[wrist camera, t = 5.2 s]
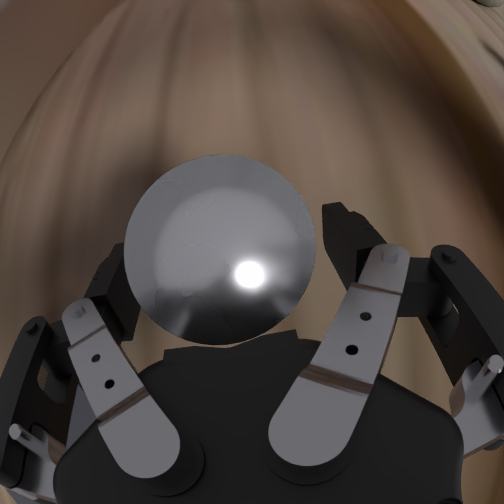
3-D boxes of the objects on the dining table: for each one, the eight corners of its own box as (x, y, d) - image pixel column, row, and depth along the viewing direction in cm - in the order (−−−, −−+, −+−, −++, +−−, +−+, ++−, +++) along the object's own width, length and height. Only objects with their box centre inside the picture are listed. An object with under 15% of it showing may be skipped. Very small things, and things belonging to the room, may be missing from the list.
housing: (243, 214, 18) (220, 113, 8) (314, 281, 17) (370, 241, 7) (174, 282, 17) (81, 245, 8) (243, 353, 16) (214, 401, 7)
